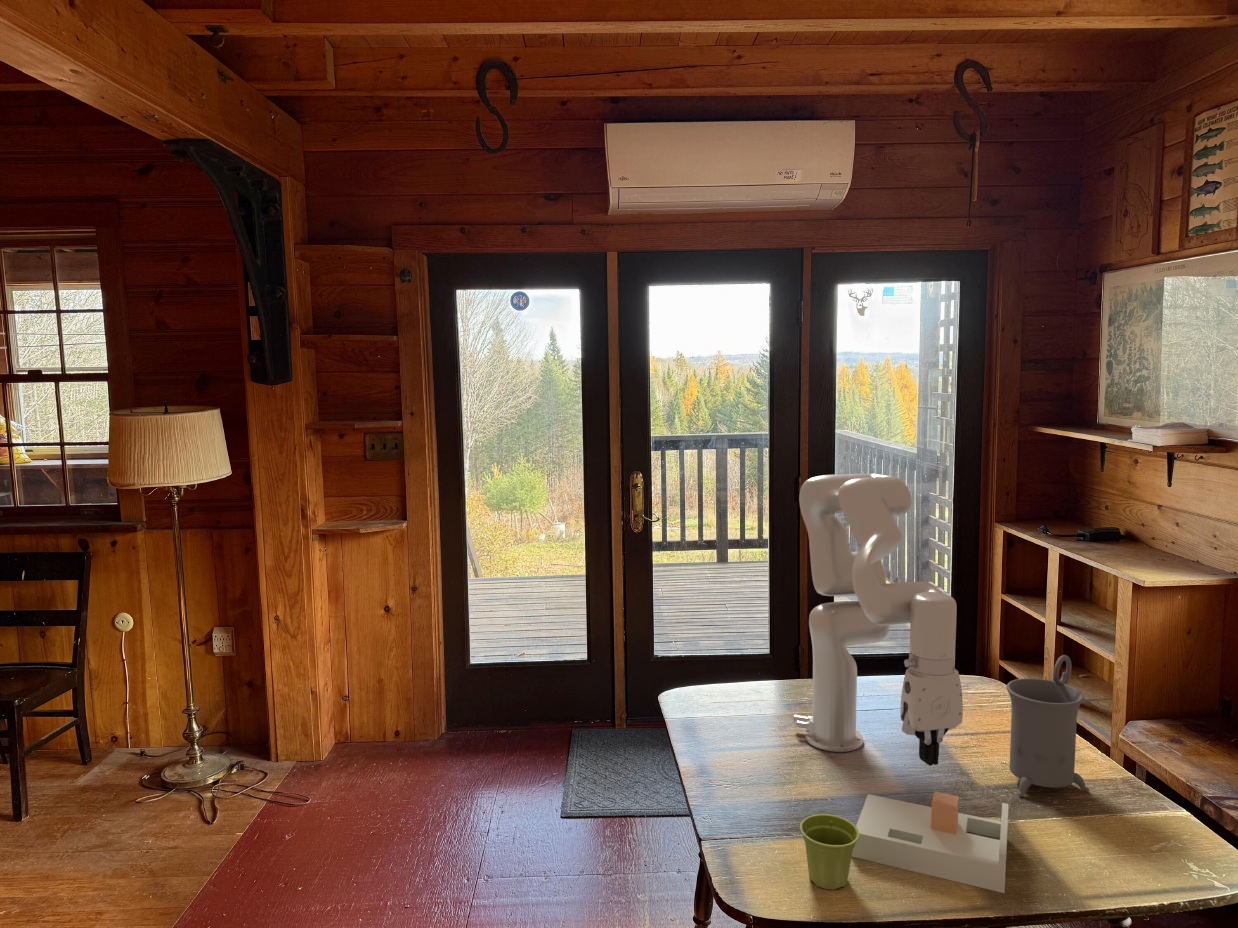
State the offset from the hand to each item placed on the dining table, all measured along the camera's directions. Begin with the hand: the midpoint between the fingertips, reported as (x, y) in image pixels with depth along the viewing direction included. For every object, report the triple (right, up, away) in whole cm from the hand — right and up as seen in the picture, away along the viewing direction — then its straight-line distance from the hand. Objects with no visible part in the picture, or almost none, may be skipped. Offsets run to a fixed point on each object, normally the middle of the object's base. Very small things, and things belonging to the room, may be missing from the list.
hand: (928, 761), depth 149 cm
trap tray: (-1, -14, -4) cm, 14 cm away
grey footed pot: (+30, -11, +18) cm, 36 cm away
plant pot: (-21, -15, -13) cm, 29 cm away
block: (+2, -10, -3) cm, 11 cm away
